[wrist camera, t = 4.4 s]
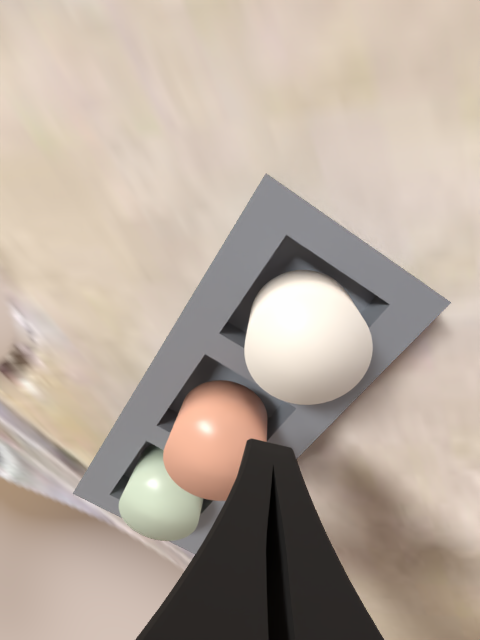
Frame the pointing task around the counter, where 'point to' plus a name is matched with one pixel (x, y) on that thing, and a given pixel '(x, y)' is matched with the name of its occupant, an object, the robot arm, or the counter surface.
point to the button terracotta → (213, 437)
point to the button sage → (158, 501)
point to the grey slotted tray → (231, 328)
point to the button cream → (306, 339)
